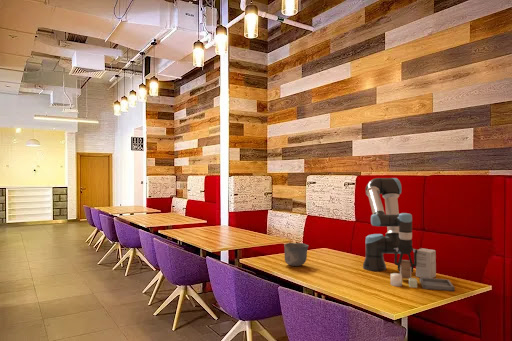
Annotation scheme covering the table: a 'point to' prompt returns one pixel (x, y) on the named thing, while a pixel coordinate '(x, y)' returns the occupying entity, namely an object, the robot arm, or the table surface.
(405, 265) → the walnut block
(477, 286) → the table surface
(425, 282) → the tray
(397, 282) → the glossy white capsule
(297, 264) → the bowl
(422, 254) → the supplement box
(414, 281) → the cream box
